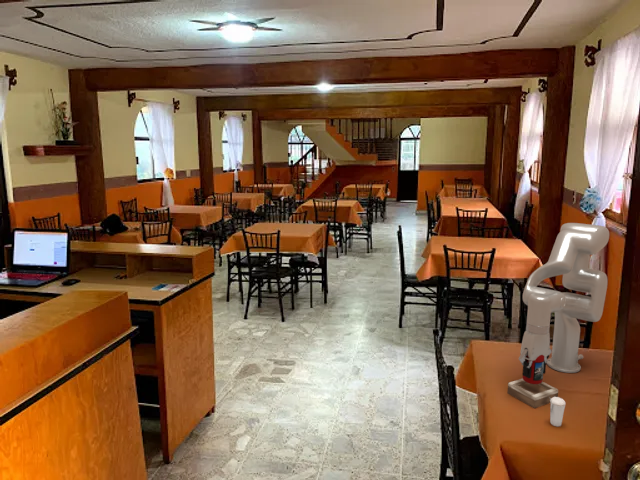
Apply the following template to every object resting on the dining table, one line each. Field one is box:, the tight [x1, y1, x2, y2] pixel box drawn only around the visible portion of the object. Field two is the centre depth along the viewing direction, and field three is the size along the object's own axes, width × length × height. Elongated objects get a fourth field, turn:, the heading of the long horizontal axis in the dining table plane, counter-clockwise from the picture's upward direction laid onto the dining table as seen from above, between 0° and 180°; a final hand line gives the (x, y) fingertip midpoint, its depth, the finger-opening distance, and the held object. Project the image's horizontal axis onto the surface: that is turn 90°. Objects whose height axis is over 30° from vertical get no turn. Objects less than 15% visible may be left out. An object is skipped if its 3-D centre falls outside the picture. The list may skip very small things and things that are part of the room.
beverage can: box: [522, 355, 544, 385], centre depth 177 cm, size 7×7×12 cm
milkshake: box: [549, 396, 566, 427], centre depth 161 cm, size 4×5×10 cm
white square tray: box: [507, 377, 559, 409], centre depth 179 cm, size 12×12×4 cm
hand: (533, 374), depth 177 cm, fingers closed on beverage can, 6 cm apart
